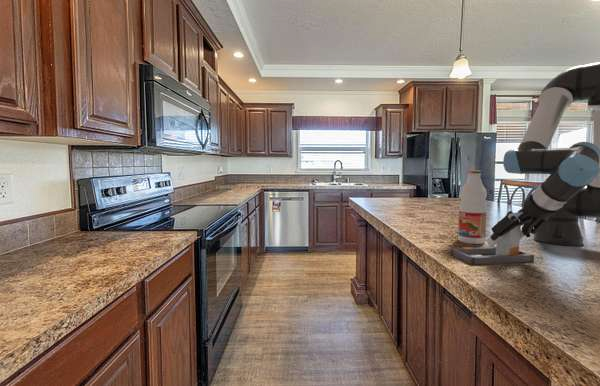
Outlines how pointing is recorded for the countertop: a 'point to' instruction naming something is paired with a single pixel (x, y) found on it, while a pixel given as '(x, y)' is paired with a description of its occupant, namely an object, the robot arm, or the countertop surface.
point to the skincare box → (509, 243)
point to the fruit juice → (472, 210)
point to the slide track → (475, 256)
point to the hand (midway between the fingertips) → (499, 243)
